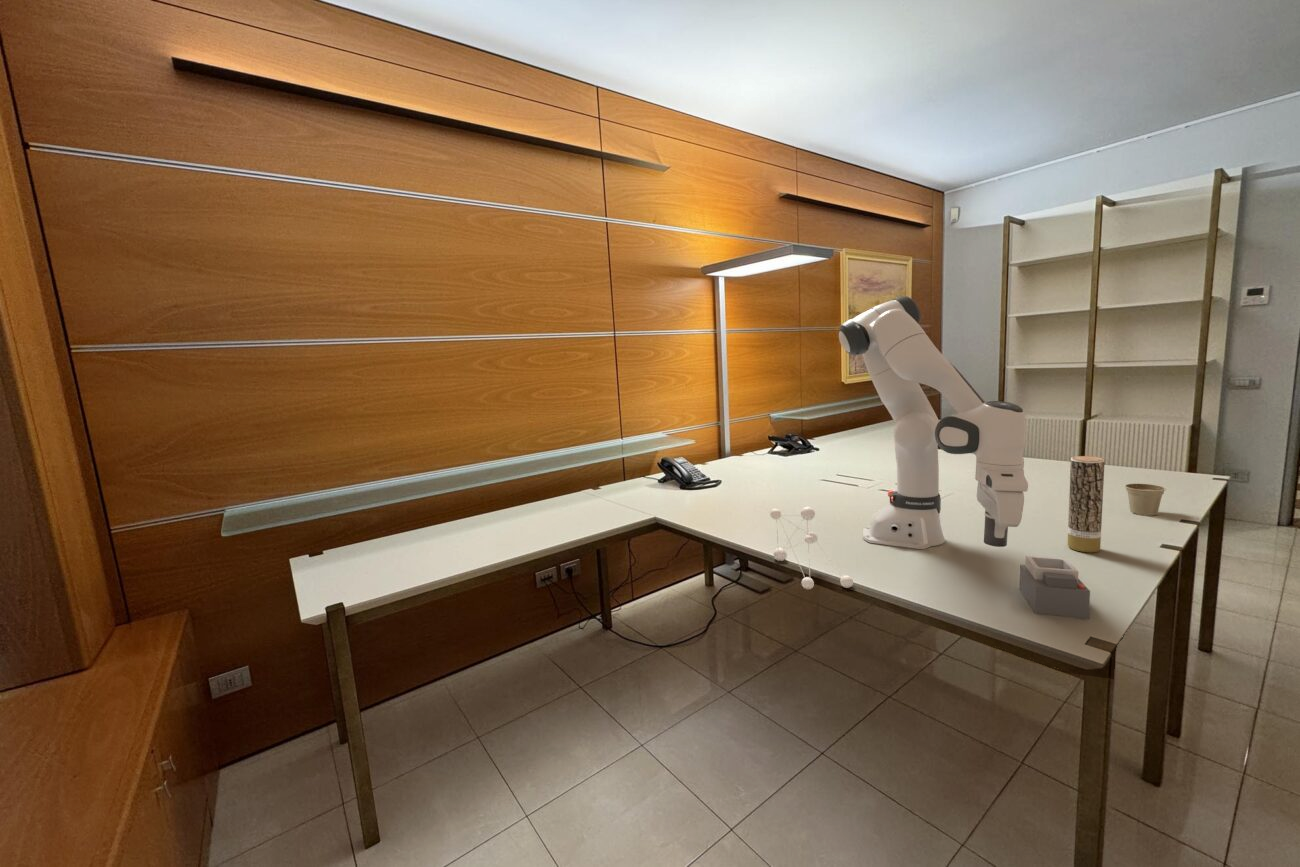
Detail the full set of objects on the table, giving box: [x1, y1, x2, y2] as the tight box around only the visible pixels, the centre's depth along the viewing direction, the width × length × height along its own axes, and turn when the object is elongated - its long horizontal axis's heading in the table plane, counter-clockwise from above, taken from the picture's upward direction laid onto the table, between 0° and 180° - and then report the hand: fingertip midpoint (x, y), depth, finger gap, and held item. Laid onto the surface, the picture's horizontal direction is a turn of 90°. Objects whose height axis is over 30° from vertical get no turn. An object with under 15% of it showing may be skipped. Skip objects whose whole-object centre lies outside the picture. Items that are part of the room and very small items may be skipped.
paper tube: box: [1067, 455, 1106, 554], centre depth 136 cm, size 7×7×25 cm
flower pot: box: [1124, 482, 1167, 517], centre depth 161 cm, size 9×9×9 cm
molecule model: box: [769, 506, 854, 590], centre depth 133 cm, size 14×25×18 cm, turn 15°
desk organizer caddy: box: [1018, 555, 1091, 620], centre depth 110 cm, size 12×9×8 cm
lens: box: [983, 511, 1009, 548], centre depth 116 cm, size 5×5×7 cm
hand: (994, 532), depth 116 cm, fingers closed on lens, 4 cm apart
